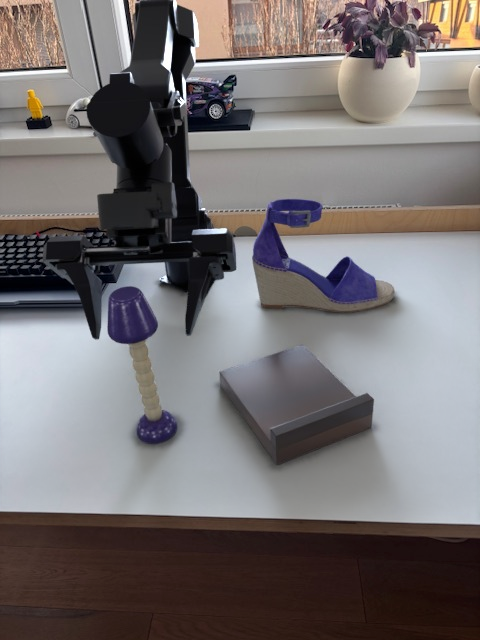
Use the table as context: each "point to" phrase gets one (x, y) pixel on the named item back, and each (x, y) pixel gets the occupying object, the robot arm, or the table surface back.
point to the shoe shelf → (295, 403)
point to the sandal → (309, 269)
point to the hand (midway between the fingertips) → (141, 337)
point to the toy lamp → (140, 358)
